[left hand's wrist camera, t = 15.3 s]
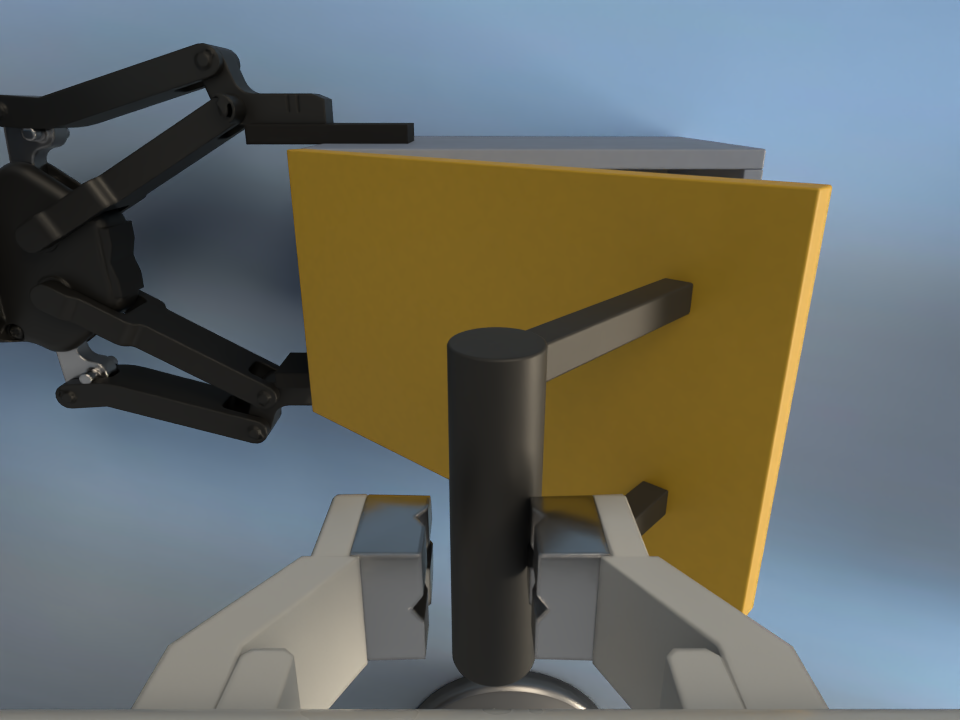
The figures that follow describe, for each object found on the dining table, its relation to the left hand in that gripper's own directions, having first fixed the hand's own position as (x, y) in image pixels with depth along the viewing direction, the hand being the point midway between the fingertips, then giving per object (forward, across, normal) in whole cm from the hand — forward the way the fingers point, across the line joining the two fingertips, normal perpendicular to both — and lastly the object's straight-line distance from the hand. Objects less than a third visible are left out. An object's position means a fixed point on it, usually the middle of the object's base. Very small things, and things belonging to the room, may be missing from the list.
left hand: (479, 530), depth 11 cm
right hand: (+20, -3, 0) cm, 20 cm away
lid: (+10, 0, 0) cm, 10 cm away
